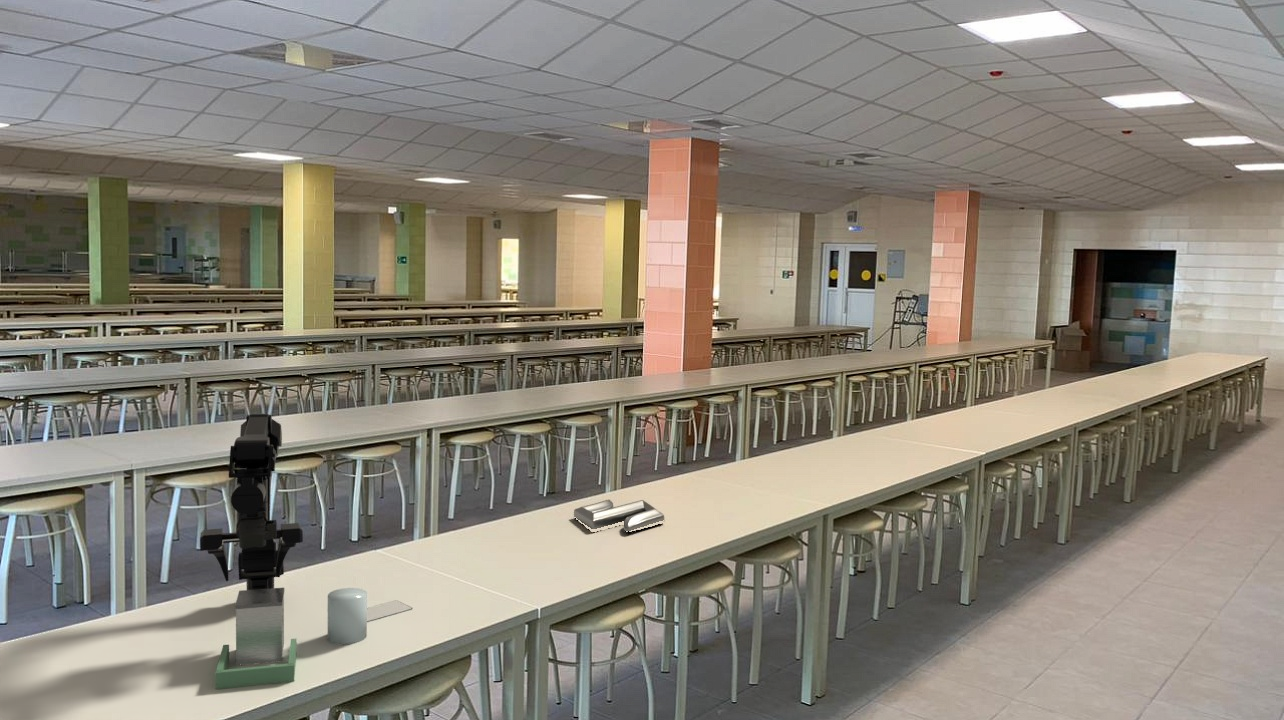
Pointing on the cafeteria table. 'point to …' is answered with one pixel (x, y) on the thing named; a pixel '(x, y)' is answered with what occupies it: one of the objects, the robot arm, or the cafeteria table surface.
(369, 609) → the smartphone
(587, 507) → the emblem
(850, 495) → the cafeteria table surface
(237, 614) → the tin
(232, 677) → the bay
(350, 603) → the round-topped grey cylinder
